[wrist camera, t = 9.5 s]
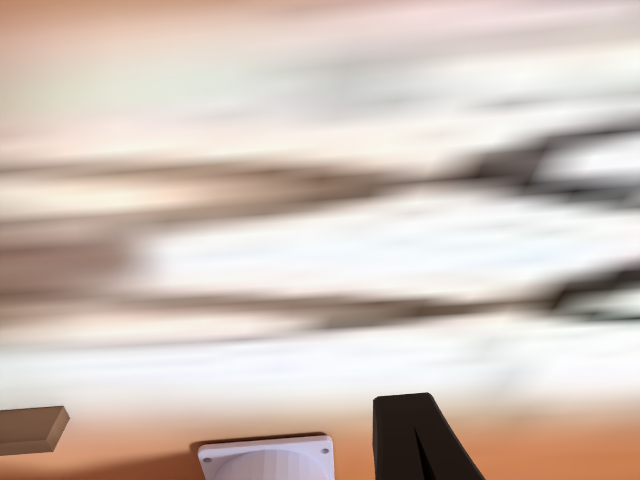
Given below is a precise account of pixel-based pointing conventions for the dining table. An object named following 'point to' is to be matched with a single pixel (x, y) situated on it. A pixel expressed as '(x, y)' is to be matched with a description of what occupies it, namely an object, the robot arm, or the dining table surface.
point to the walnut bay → (31, 430)
